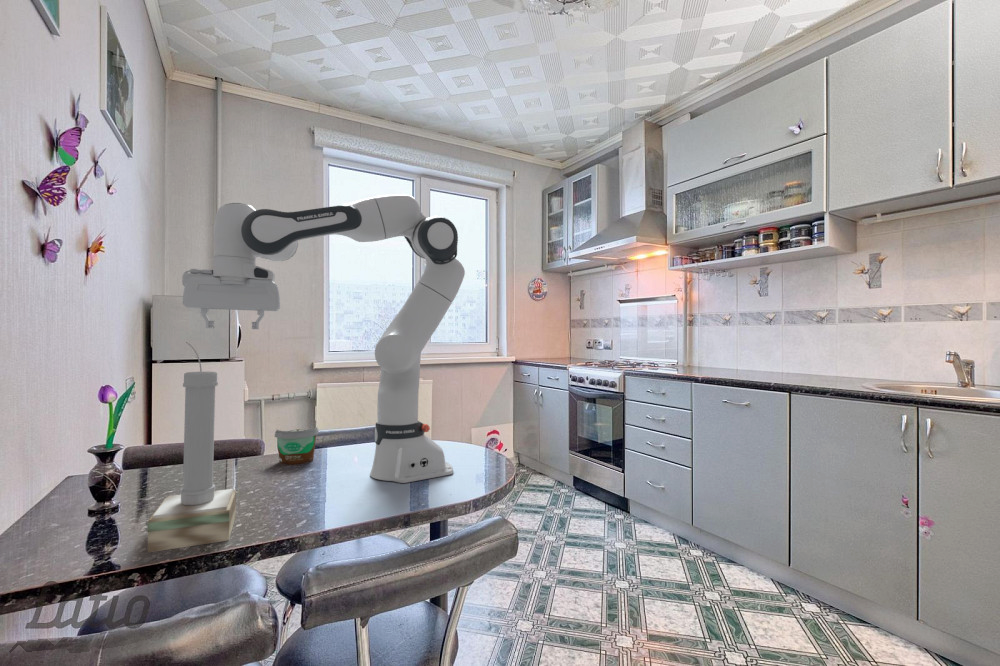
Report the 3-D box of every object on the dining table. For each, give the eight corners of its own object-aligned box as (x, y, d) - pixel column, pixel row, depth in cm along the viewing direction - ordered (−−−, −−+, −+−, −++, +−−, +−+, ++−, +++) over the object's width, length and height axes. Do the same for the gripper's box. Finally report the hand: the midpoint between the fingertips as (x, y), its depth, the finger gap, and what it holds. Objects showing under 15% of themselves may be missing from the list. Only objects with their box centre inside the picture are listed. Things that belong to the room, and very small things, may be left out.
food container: (272, 468, 130) (273, 432, 130) (273, 462, 135) (274, 429, 136) (319, 463, 135) (319, 430, 135) (318, 458, 140) (319, 426, 141)
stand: (235, 517, 94) (236, 487, 94) (228, 541, 83) (229, 507, 83) (164, 526, 89) (165, 495, 89) (146, 553, 78) (147, 517, 78)
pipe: (197, 507, 83) (202, 342, 83) (168, 504, 84) (173, 341, 84) (222, 497, 88) (225, 342, 89) (194, 495, 89) (198, 341, 90)
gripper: (179, 266, 103) (178, 327, 102) (280, 272, 111) (279, 329, 111) (185, 269, 108) (184, 328, 108) (280, 276, 117) (279, 329, 117)
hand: (233, 328), depth 110 cm, fingers open, 8 cm apart
